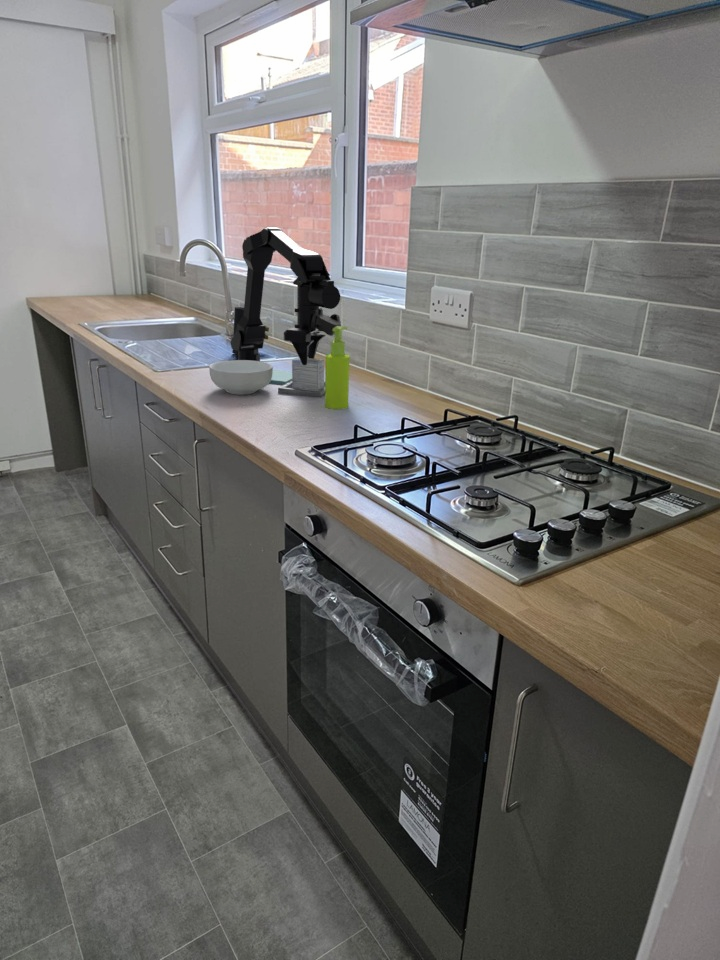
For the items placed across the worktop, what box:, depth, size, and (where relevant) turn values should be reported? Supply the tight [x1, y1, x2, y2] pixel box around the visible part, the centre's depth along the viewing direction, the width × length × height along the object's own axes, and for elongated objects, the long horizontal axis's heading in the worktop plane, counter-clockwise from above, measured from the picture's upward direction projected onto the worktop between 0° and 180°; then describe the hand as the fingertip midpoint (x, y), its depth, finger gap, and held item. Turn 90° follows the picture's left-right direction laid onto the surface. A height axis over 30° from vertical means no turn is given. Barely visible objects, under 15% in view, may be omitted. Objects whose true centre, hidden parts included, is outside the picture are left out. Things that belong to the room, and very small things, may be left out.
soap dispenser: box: [324, 325, 351, 410], centre depth 162 cm, size 6×7×20 cm
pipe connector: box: [232, 306, 270, 355], centre depth 221 cm, size 12×5×15 cm, turn 113°
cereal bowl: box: [208, 359, 274, 395], centre depth 176 cm, size 17×17×7 cm
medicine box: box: [291, 356, 325, 391], centre depth 178 cm, size 8×4×9 cm, turn 71°
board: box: [269, 369, 292, 386], centre depth 191 cm, size 12×12×1 cm
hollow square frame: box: [277, 381, 325, 398], centre depth 179 cm, size 12×12×2 cm
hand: (308, 363), depth 176 cm, fingers closed on medicine box, 4 cm apart
